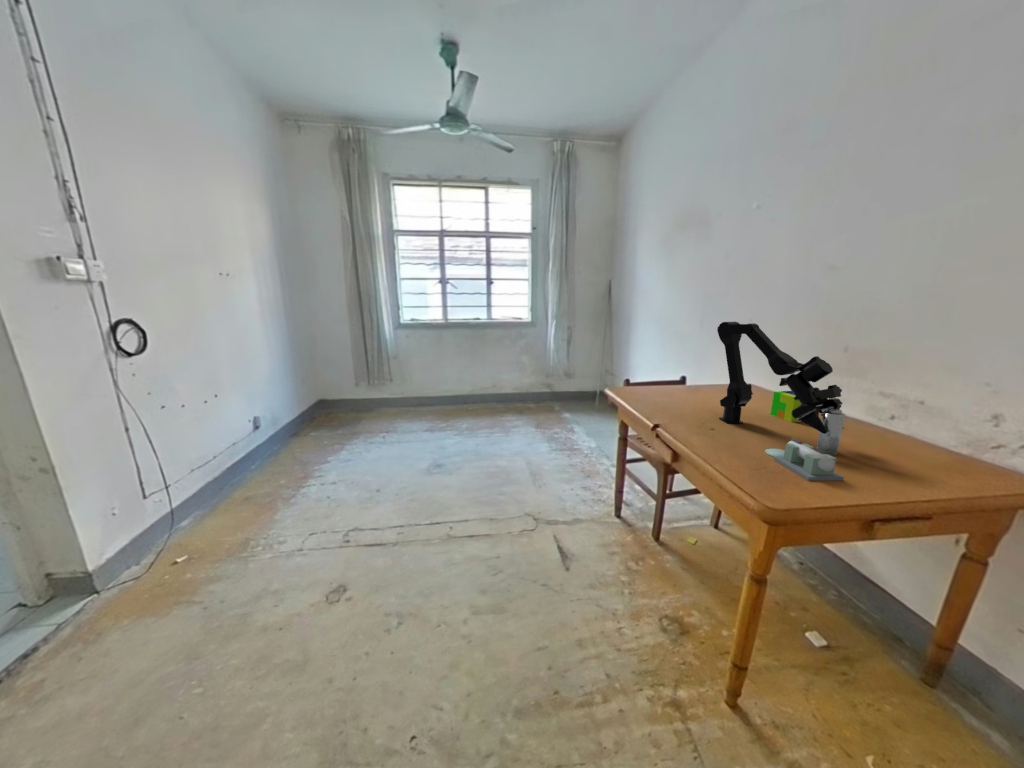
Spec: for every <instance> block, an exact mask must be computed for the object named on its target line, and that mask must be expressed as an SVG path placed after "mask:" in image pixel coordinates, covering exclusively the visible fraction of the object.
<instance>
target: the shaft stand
mask: <svg viewBox="0 0 1024 768" xmlns="http://www.w3.org/2000/svg"><path fill="white" fill-rule="evenodd" d="M784 450H785V452H784V457H773V461H775V462H777V463H778V464H780V465H781V466H783V467H785V468H786V469H788V470H790V471H792V472H793V473H795V474H796V475H798V476H800V477H801V478H803V479H805V480H806V481H808V482H810V481H811V482H812V481H814V482H815V481H817V482H818V481H844V478H845V477H844V476H843V475H841V474H839V473H838V472H835V467H836V462H837V458H836V457H835V456H834V455H833V456H832V455H829V454H824V453H821V452H818V451H817V450H816V449H815V446H812V445H810V444H809V443H802V441H801V440H799V439H797V438H795V437H792V438H791V440H790V441H788V442H787V443H786V444H785V447H784Z"/></svg>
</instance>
